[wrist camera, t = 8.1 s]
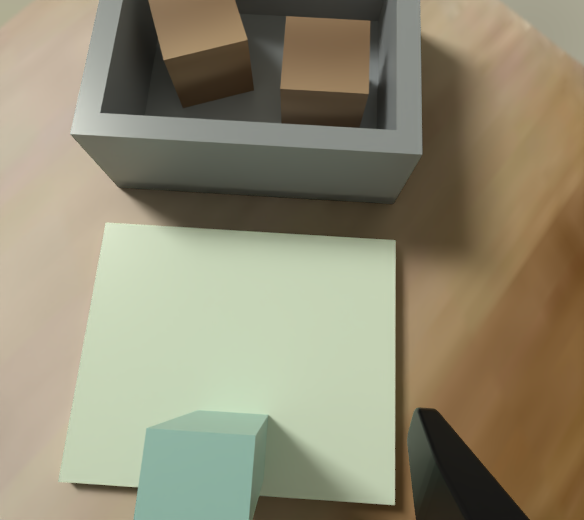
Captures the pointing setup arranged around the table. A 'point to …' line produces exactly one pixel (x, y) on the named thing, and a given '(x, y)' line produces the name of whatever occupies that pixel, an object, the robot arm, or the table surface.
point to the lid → (236, 371)
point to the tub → (250, 110)
